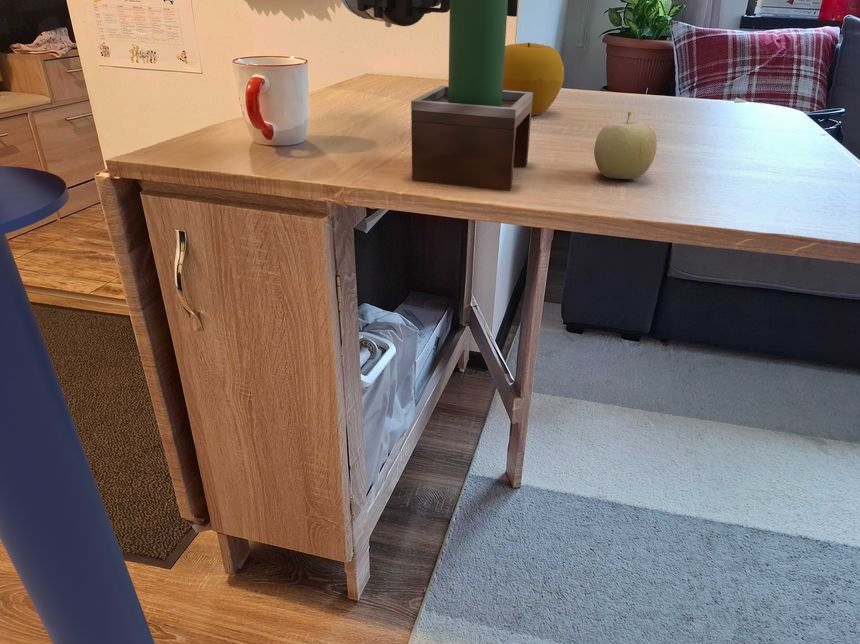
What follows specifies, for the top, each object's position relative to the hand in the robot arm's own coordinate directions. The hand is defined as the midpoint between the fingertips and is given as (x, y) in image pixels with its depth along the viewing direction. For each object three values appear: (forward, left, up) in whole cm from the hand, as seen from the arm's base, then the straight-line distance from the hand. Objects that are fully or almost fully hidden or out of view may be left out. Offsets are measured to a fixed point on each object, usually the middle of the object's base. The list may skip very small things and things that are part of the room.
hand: (464, 3), depth 72 cm
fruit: (+17, +12, -19) cm, 28 cm away
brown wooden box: (+3, -1, -19) cm, 19 cm away
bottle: (+3, -1, -11) cm, 11 cm away
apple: (-17, +36, -19) cm, 44 cm away
